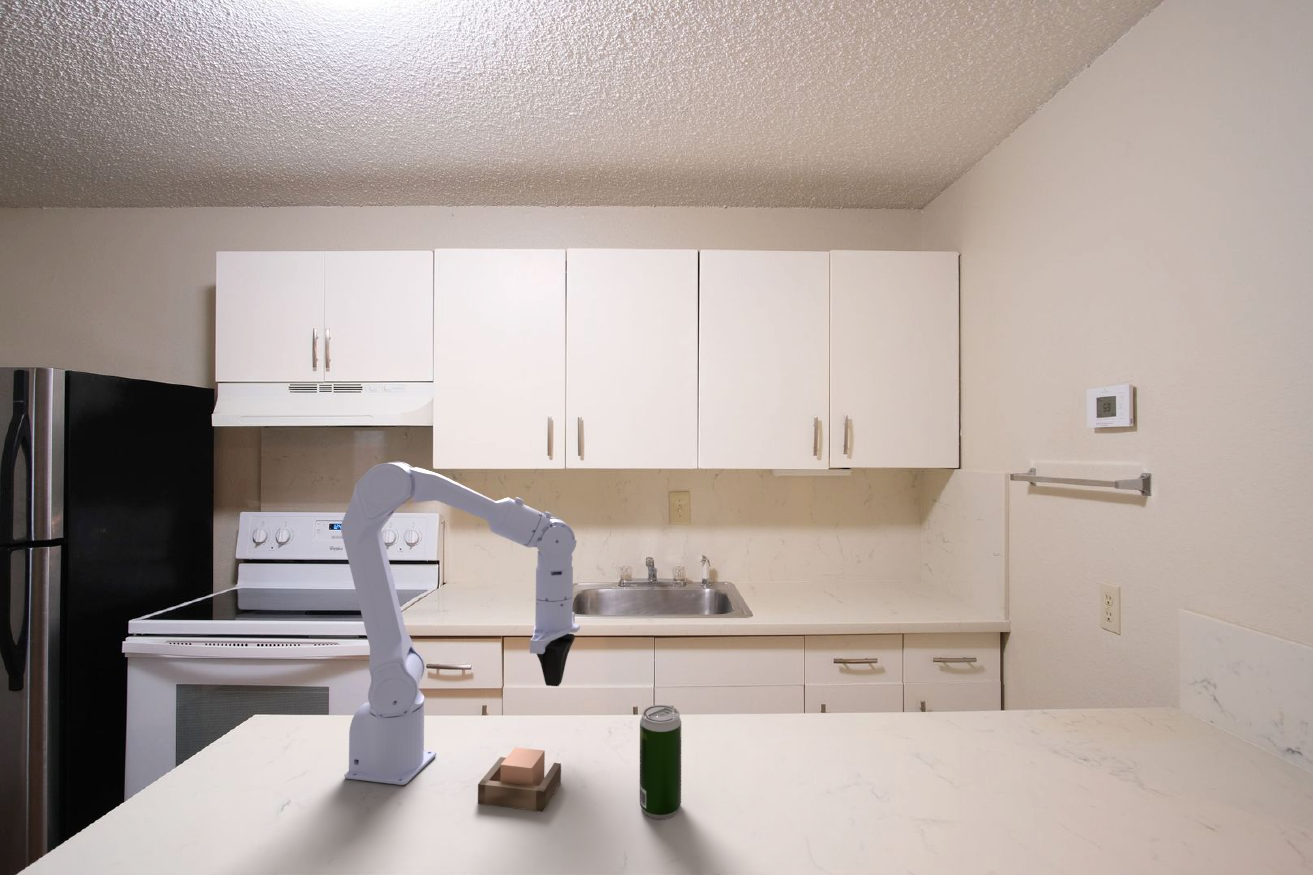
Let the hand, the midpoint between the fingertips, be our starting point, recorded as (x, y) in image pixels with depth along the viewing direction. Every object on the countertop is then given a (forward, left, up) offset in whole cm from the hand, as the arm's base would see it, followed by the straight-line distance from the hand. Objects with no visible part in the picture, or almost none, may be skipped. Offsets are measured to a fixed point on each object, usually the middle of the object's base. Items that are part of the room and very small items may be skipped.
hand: (553, 684), depth 88 cm
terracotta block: (0, -12, -10) cm, 15 cm away
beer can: (+19, -12, -10) cm, 24 cm away
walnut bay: (0, -12, -9) cm, 15 cm away
